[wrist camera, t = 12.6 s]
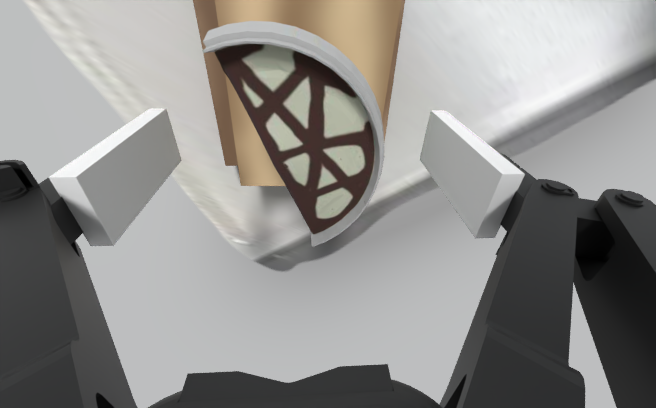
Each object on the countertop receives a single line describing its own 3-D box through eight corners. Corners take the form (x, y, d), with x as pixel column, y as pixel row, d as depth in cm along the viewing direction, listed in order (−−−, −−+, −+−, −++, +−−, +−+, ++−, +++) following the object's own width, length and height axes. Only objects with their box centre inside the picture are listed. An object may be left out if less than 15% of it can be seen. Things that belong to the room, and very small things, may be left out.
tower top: (390, -27, 21) (406, -33, 18) (364, 167, 30) (371, 186, 27) (223, -40, 20) (208, -48, 17) (247, 165, 29) (240, 185, 26)
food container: (376, 149, 25) (413, 221, 17) (310, 173, 26) (315, 253, 18) (328, -21, 18) (350, -38, 10) (239, 20, 19) (193, 35, 11)
